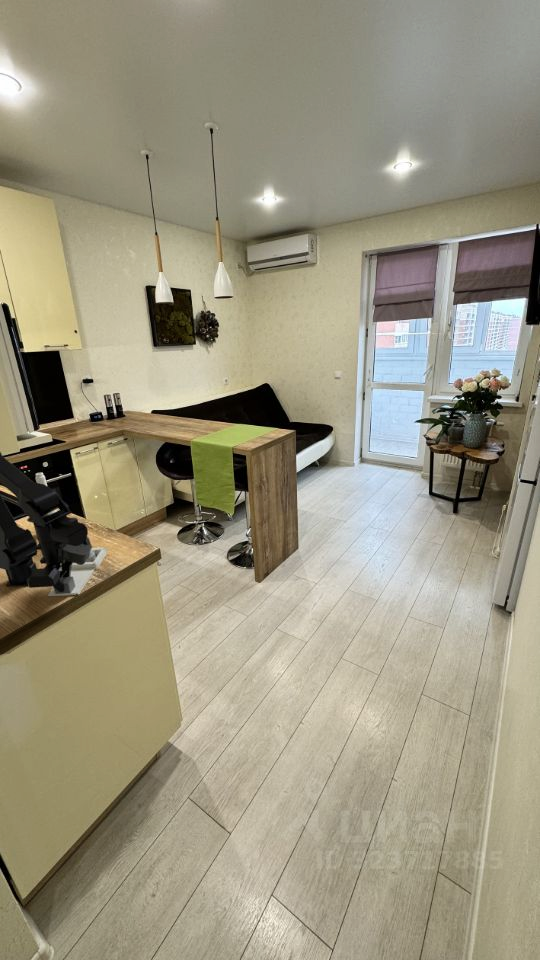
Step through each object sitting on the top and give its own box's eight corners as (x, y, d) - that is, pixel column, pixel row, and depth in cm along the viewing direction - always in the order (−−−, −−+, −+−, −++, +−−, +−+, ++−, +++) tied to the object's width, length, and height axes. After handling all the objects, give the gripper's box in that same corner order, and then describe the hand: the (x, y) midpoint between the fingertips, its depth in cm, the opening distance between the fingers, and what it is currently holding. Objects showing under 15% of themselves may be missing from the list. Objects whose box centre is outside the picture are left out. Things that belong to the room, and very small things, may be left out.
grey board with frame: (46, 596, 101) (42, 584, 99) (78, 554, 120) (76, 543, 118) (80, 594, 101) (77, 582, 100) (107, 552, 120) (105, 542, 119)
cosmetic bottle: (44, 536, 131) (28, 478, 123) (45, 529, 136) (29, 472, 128) (63, 532, 134) (49, 474, 125) (63, 525, 139) (49, 469, 130)
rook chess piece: (77, 561, 116) (72, 538, 113) (90, 554, 120) (85, 532, 117) (86, 565, 114) (81, 542, 111) (99, 558, 118) (94, 535, 115)
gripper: (66, 556, 88) (80, 609, 93) (96, 519, 105) (107, 566, 111) (17, 558, 87) (35, 612, 93) (56, 520, 104) (68, 568, 110)
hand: (64, 587), depth 102 cm, fingers closed on grey board with frame, 3 cm apart
